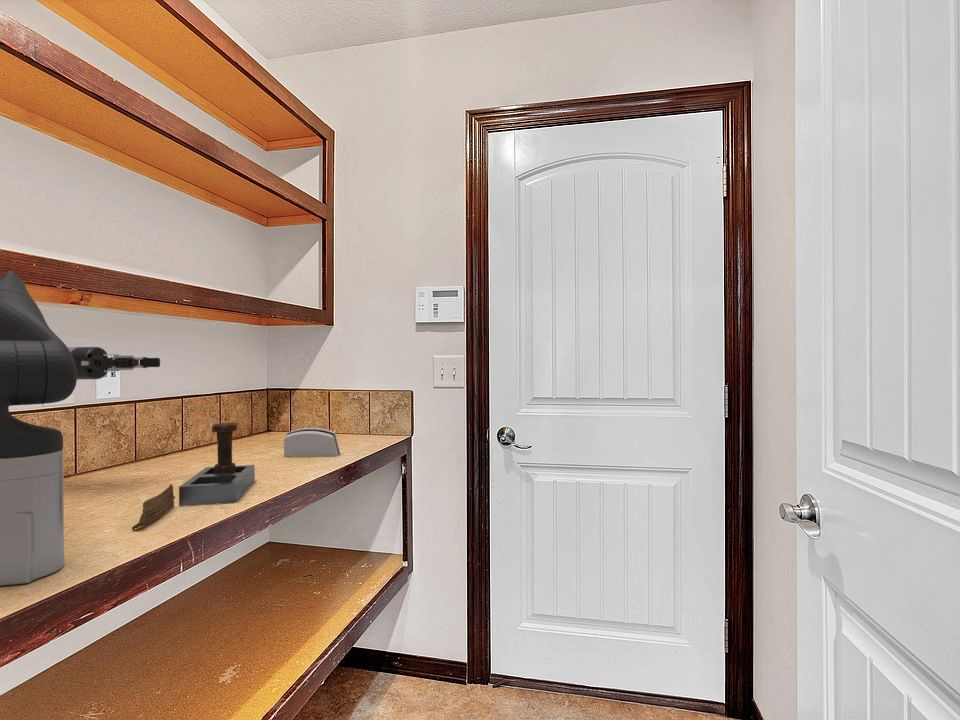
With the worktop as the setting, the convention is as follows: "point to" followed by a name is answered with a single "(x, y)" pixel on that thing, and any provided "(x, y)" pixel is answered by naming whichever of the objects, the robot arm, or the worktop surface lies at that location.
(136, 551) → the worktop surface
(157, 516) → the wood plank
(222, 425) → the bolt
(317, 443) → the grey napkin holder
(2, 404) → the robot arm
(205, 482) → the two-slot grey tray
